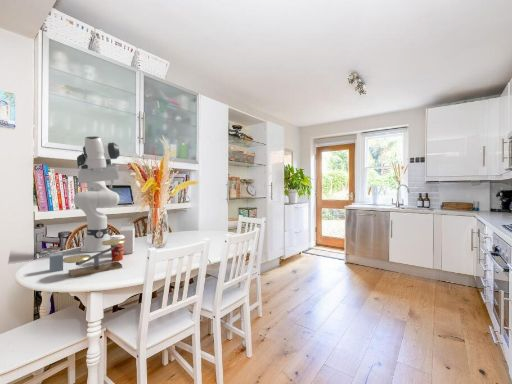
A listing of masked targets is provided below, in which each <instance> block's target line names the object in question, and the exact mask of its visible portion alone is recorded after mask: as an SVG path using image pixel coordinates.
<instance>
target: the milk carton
mask: <svg viewBox="0 0 512 384" xmlns="http://www.w3.org/2000/svg"><path fill="white" fill-rule="evenodd" d="M119 230H120V232H119V233H120V234H119V235H124V237H125V238H124V240H126V242H125V243H124V249H123V255H127V254H128V255H129V254H134V253H135V251H136V250H135V249H136V248H135V247H136V246H135V245H136V243H135V242H136V236H135V235H136V227H135V223H134V222H128V223H123V222H122V223H121V226H120V229H119Z"/></svg>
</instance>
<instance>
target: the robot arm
mask: <svg viewBox="0 0 512 384" xmlns="http://www.w3.org/2000/svg"><path fill="white" fill-rule="evenodd" d="M82 151H83V152H82V153H81V154H79V155H78V156H77V157H76V159H77V160H75V165H76V167H77V169H79V170H78V173H77V181H78V183H79V184H86V190H87V191H86V190H84V191H80V192H76V193H75V194H74V197H73V204H74V205H75V206H76V207H77V208H79V209H80V210H81V211H82V212H83V213H84V214H85V216H86V220H87V221H86V222H87V228H86V236H85V237H84V239H82V240H81V244H82V245H81V247H80V252H81V253H97V252H103V251H105V250H107V249H109V248H111V245H102V242H103V241H106V240H110V238H111V235H110V234H109V228H108V216H107V215H106V214H104V213H103V212H100V211H98V210H97V209H98V208H112V207H116V206H117V205H119V204H120V203H119V202H120V198H121V197H120V195H119V193H118V192H116V191H113V190H111V189H113V184H114V181H116V180H120V179H121V178H120V174H119V171H120V167H119V165H118V164H116V163H113V160H117V159H118V158H119V157H120V154H121V151H120V148H119V145H118V144H116V143H115V142H106V143H105V142H104V143H103V141H102V138H101V137H100V136H85V138H84V146H82ZM106 181H110V184H109V185H108V187H109V188H108V187H107V185H106Z"/></svg>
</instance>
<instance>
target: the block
mask: <svg viewBox="0 0 512 384" xmlns="http://www.w3.org/2000/svg"><path fill="white" fill-rule="evenodd" d="M63 259H64V253H63V252H56V253H50V254H49V272H50V273H56V272H62V271H64V262H63Z"/></svg>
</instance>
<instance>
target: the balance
mask: <svg viewBox="0 0 512 384" xmlns="http://www.w3.org/2000/svg"><path fill="white" fill-rule="evenodd" d="M125 242H126V240H124V239H112V240H106V241H103V242H102V245H113V247H111V248H109V249H107V250H104V251H99V253H96V254H95V255H90V254H76V255H71V256H67V257H63V263H67V264H73V263H74V264H75V266H77V267H78V266H80V265H82V264H85V263H87V262H90V261H91V260H93V265H89V266H84V267H79V268H73V269H68V275H69V276H70V278H71V279H72V278H76V277H83V276H87V275H93V274H96V273H97V274H98V273H102V272H103V273H104V272H107V271H112V270H116V269H117V270H118V269H122V268H123V264H122V263H121V262H120V261H111V262H106V263H100V262H99V261H100V260H99V258H100V256H102V255H104V254H107V253H108V252H110V251H111V250H113V249H114V248H115V245H119V244H123V243H125Z"/></svg>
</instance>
